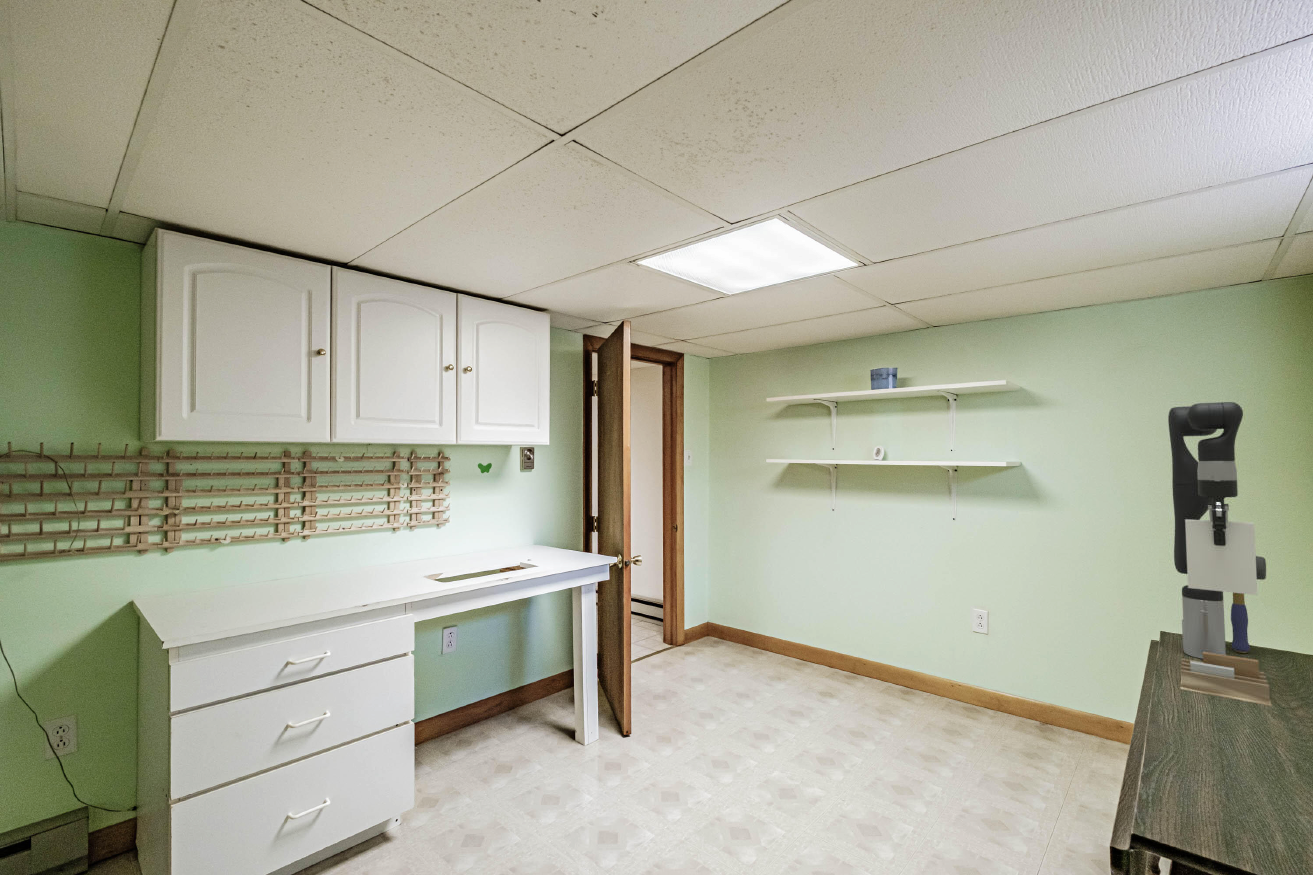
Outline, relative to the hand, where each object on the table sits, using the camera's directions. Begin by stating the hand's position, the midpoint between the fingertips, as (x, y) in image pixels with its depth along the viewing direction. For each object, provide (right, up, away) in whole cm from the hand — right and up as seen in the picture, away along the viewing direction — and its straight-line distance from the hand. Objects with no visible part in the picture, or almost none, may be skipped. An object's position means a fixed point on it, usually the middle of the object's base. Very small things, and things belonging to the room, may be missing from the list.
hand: (1219, 544), depth 155 cm
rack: (-4, -37, -5) cm, 37 cm away
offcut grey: (-8, -35, -6) cm, 37 cm away
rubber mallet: (+32, -38, +26) cm, 56 cm away
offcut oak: (-3, -35, -6) cm, 36 cm away
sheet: (0, -12, 0) cm, 12 cm away
